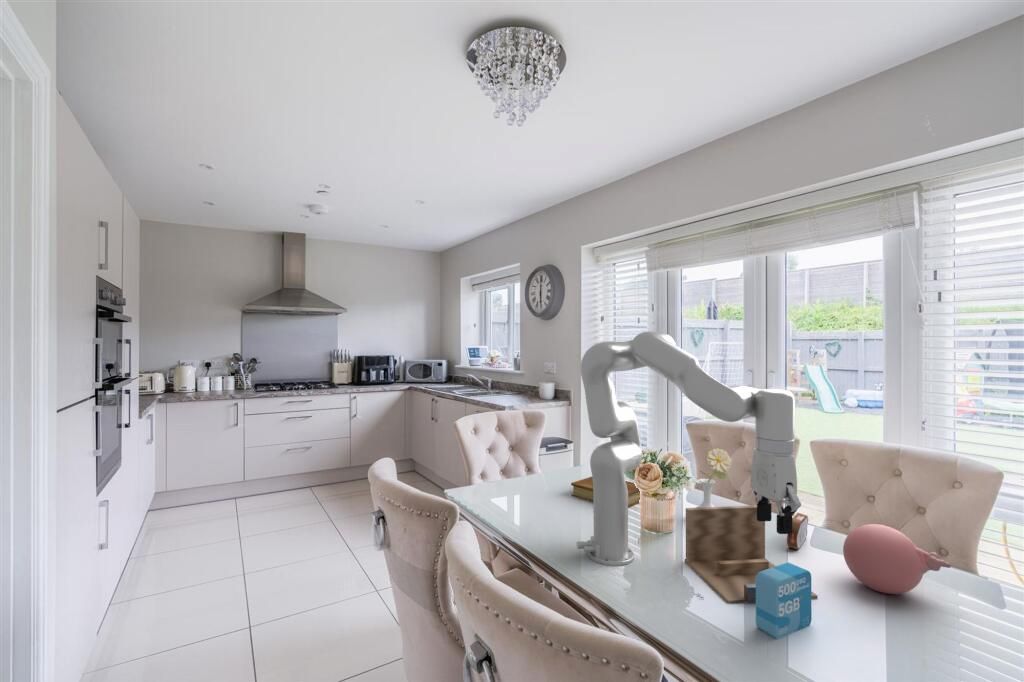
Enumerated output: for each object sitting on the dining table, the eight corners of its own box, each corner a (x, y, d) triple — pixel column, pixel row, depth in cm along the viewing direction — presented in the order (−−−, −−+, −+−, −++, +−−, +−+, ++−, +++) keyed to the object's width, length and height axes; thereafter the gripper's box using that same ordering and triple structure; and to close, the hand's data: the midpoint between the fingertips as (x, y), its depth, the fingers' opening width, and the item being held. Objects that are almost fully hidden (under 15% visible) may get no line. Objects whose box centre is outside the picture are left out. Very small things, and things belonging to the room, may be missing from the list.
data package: (775, 642, 94) (775, 582, 94) (755, 630, 98) (755, 572, 98) (812, 626, 99) (811, 569, 99) (791, 615, 103) (791, 560, 103)
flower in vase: (688, 525, 154) (688, 449, 154) (689, 514, 165) (689, 442, 165) (732, 531, 149) (732, 453, 149) (730, 519, 160) (730, 445, 160)
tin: (798, 535, 146) (798, 508, 146) (809, 538, 144) (809, 511, 144) (785, 551, 135) (785, 522, 135) (798, 554, 133) (798, 525, 133)
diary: (648, 500, 180) (648, 485, 180) (620, 512, 167) (620, 496, 167) (599, 487, 197) (599, 473, 197) (571, 497, 184) (571, 482, 184)
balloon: (952, 624, 100) (952, 551, 100) (839, 591, 113) (839, 527, 113) (950, 595, 112) (949, 530, 112) (847, 568, 125) (847, 510, 125)
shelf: (728, 605, 107) (728, 539, 107) (684, 562, 128) (684, 507, 128) (817, 599, 110) (817, 535, 110) (760, 558, 130) (760, 504, 131)
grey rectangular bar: (748, 600, 107) (748, 587, 107) (744, 597, 109) (744, 584, 109) (800, 597, 109) (800, 584, 109) (796, 594, 110) (796, 581, 110)
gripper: (736, 438, 112) (735, 513, 112) (784, 455, 95) (783, 544, 95) (766, 437, 113) (765, 512, 113) (819, 455, 96) (818, 543, 96)
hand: (773, 526), depth 104 cm, fingers open, 6 cm apart
